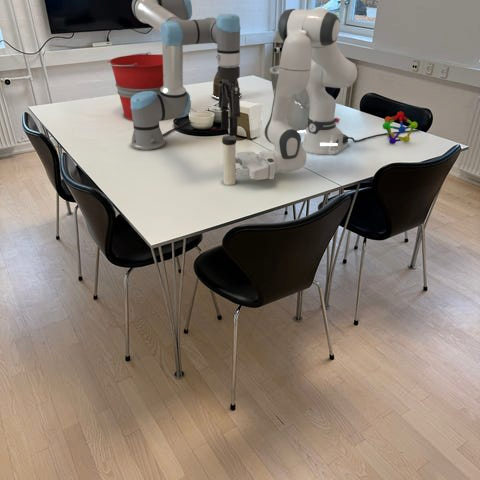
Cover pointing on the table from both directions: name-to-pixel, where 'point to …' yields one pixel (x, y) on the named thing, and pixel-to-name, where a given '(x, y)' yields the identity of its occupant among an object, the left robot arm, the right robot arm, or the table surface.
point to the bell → (216, 85)
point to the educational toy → (398, 128)
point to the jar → (229, 164)
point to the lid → (229, 140)
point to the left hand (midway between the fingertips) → (229, 131)
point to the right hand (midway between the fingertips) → (231, 166)
